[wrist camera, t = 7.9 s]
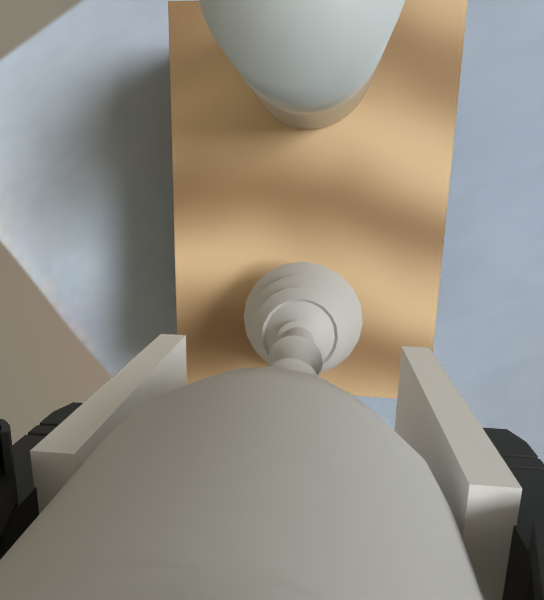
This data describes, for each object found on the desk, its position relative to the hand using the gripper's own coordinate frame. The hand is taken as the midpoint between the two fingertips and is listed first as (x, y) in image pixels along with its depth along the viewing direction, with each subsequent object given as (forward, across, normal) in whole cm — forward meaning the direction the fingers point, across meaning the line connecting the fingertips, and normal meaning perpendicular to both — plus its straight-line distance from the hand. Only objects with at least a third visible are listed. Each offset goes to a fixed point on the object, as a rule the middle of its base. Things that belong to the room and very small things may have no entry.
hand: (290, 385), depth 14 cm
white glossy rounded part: (+9, 0, -10) cm, 14 cm away
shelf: (+15, 0, -4) cm, 15 cm away
